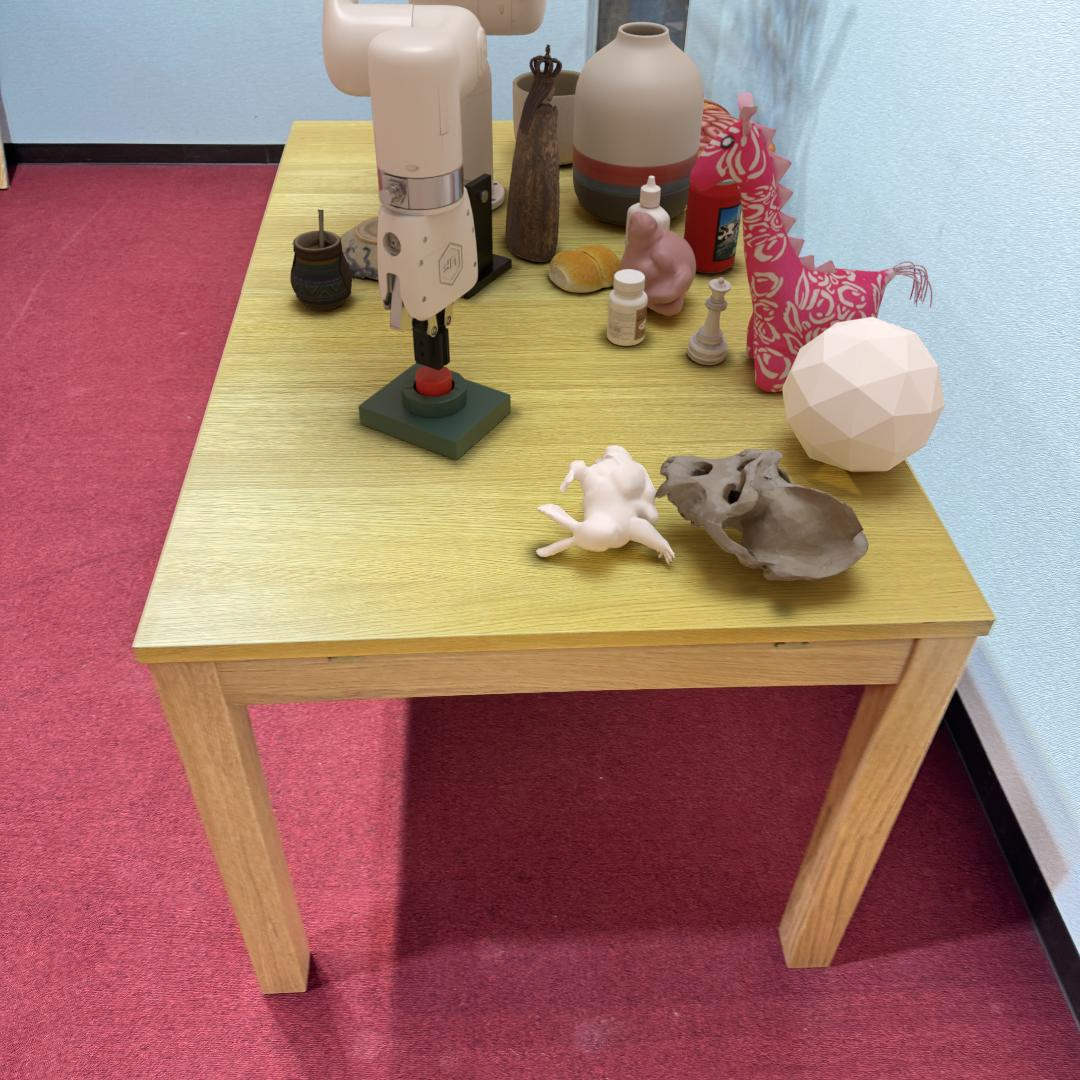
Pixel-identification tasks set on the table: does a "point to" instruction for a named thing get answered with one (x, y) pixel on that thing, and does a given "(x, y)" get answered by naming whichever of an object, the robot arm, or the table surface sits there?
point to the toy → (784, 254)
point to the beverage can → (713, 225)
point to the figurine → (659, 263)
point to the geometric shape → (863, 395)
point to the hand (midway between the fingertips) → (432, 363)
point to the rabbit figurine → (609, 507)
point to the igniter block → (435, 413)
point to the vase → (636, 123)
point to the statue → (536, 170)
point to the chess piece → (711, 328)
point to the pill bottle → (627, 308)
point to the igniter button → (433, 381)
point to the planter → (561, 99)
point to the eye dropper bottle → (649, 206)
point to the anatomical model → (716, 124)
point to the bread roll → (584, 268)
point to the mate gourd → (320, 269)
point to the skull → (765, 514)
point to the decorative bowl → (362, 249)
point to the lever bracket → (484, 234)
